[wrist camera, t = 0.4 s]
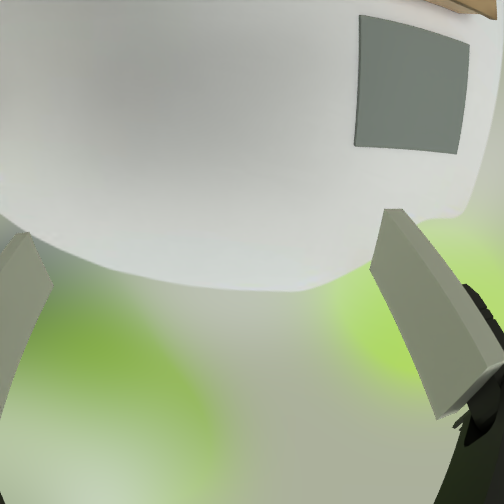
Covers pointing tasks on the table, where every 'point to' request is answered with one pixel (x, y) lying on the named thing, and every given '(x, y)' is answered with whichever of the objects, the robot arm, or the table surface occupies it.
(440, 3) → the open tan tray
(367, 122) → the mat
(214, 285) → the table surface
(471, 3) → the lid
